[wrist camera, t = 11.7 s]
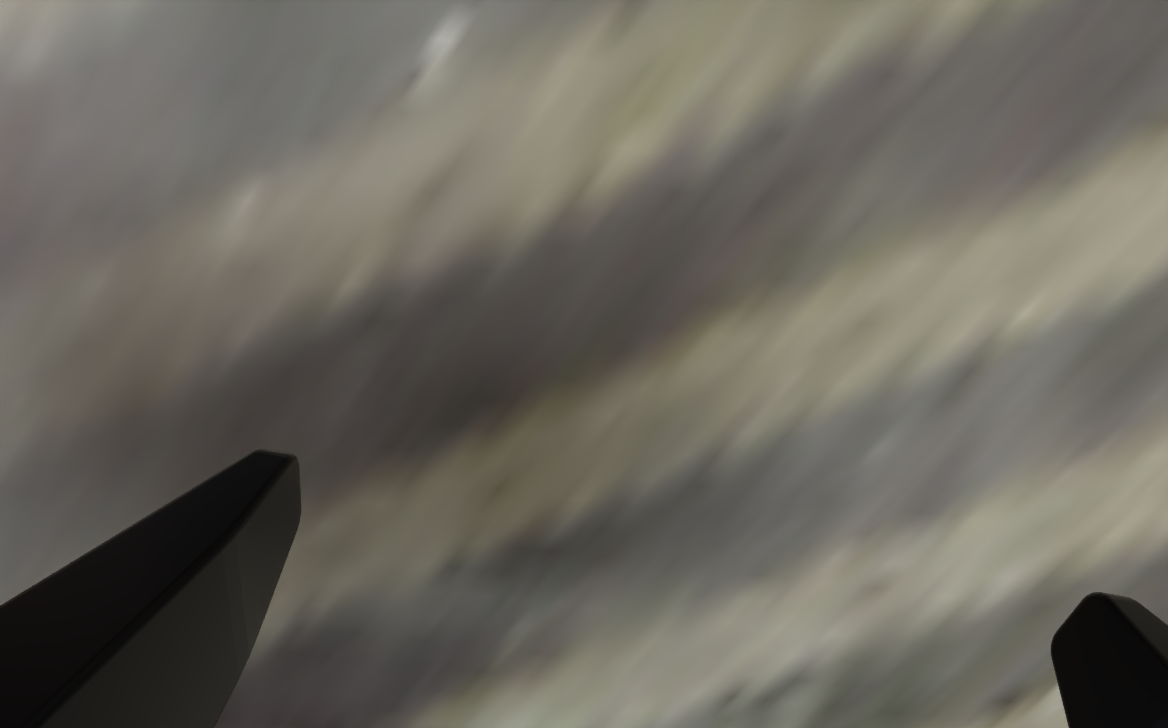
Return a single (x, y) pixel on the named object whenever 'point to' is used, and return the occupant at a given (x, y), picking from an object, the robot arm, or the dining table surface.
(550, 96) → the dining table surface
